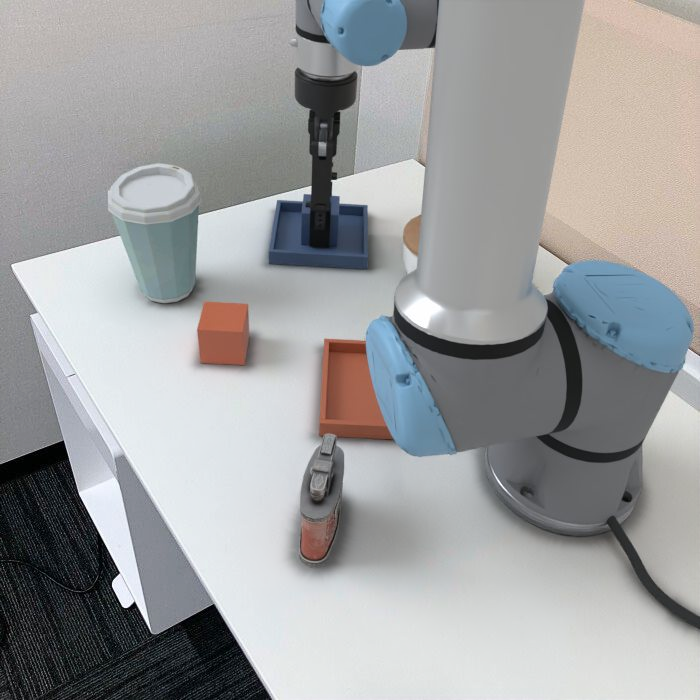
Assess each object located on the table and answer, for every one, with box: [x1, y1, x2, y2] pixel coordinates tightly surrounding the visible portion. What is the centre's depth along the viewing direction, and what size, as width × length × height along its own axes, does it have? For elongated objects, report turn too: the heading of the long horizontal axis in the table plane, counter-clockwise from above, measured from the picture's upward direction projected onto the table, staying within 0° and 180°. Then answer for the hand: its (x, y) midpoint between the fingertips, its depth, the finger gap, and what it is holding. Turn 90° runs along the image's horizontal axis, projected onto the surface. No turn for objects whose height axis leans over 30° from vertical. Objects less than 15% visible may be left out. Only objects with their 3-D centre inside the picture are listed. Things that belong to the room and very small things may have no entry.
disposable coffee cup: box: [107, 162, 202, 304], centre depth 89 cm, size 11×11×15 cm
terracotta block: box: [196, 301, 250, 366], centre depth 84 cm, size 5×5×5 cm
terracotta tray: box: [318, 338, 394, 440], centre depth 81 cm, size 13×13×2 cm
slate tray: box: [268, 199, 369, 270], centre depth 103 cm, size 13×13×2 cm
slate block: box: [301, 193, 341, 246], centre depth 102 cm, size 5×5×5 cm
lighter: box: [298, 434, 345, 568], centre depth 65 cm, size 8×3×10 cm, turn 170°
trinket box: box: [402, 214, 421, 275], centre depth 95 cm, size 11×11×9 cm
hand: (320, 233), depth 103 cm, fingers closed on slate block, 5 cm apart
